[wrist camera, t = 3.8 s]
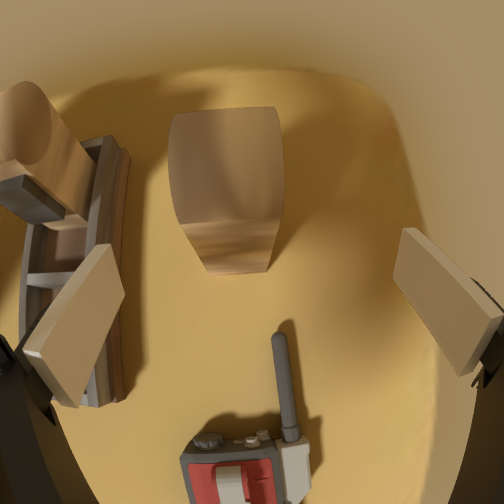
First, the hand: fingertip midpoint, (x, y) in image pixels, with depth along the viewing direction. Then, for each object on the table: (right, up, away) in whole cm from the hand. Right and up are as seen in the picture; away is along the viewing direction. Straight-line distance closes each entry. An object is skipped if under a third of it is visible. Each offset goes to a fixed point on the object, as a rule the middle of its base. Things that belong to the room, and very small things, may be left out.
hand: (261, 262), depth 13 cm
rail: (-14, -1, +8) cm, 17 cm away
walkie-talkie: (-1, -15, +5) cm, 16 cm away
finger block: (-2, +1, +9) cm, 9 cm away
